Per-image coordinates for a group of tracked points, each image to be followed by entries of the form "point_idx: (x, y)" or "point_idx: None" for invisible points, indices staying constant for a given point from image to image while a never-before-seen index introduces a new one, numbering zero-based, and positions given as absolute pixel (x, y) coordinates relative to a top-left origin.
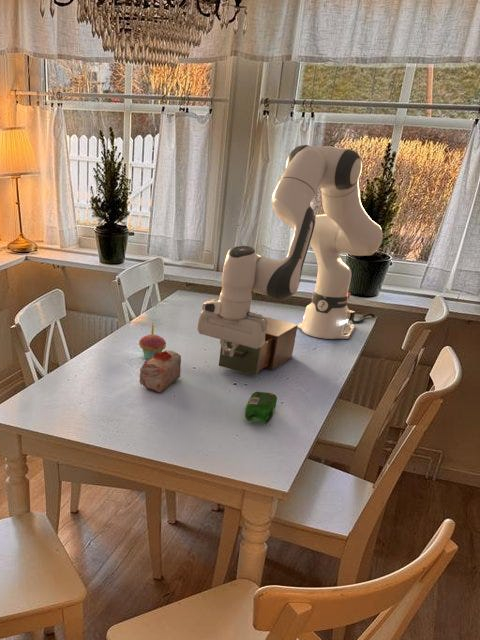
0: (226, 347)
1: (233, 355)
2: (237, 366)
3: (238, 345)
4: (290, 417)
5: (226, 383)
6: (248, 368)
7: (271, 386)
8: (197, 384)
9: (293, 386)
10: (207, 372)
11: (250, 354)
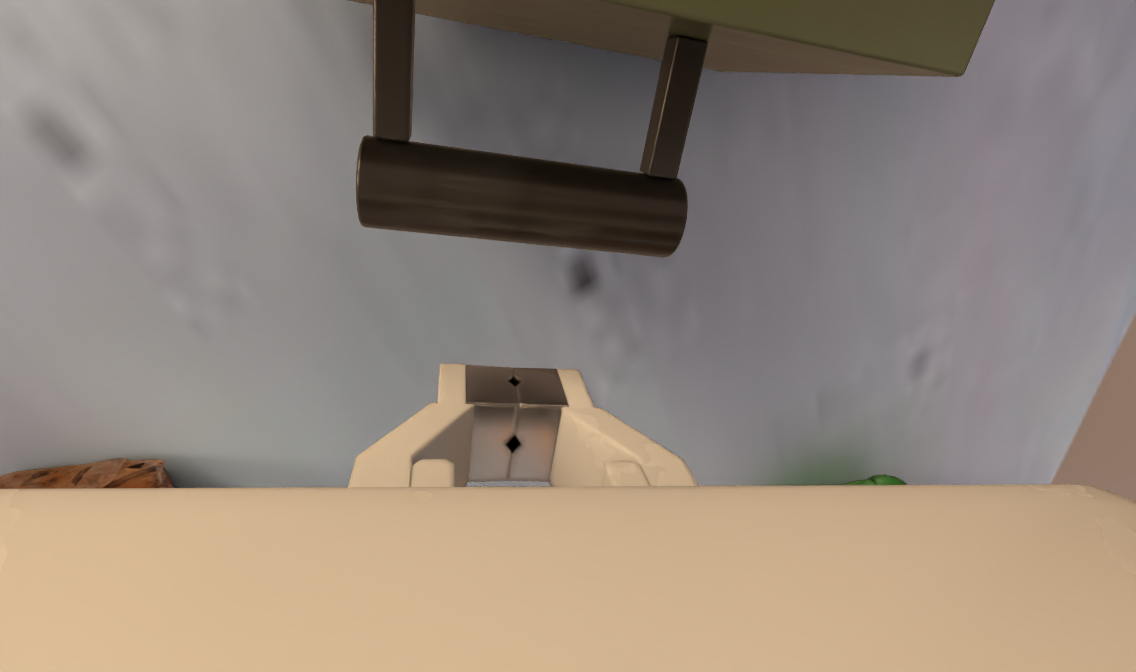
0: (465, 440)
1: (576, 373)
2: (521, 29)
3: (676, 465)
4: (951, 484)
5: (521, 302)
6: (661, 55)
7: (853, 143)
8: (346, 443)
9: (1025, 27)
10: (253, 173)
11: (736, 51)
